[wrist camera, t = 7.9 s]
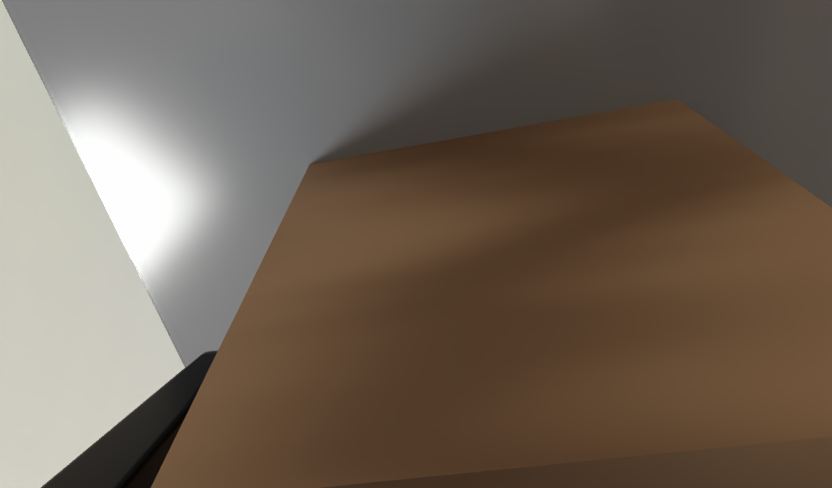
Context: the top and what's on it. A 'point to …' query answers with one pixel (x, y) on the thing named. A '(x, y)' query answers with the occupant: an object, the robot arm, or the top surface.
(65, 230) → the top surface
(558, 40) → the trivet
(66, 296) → the top surface
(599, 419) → the walnut cube
